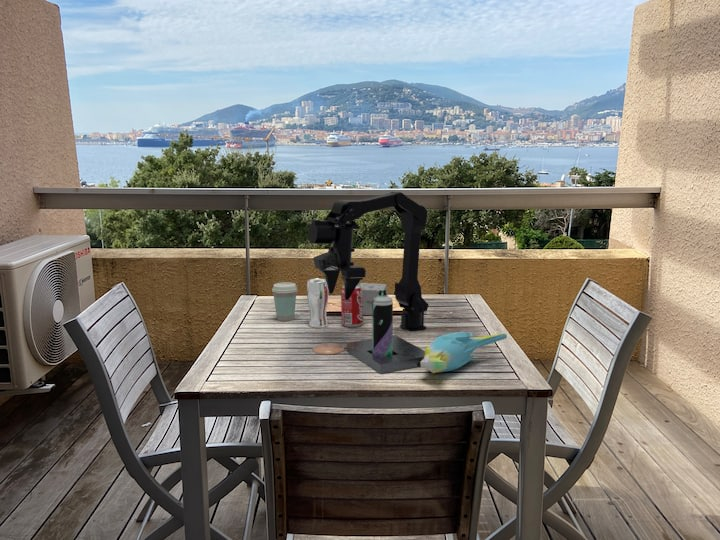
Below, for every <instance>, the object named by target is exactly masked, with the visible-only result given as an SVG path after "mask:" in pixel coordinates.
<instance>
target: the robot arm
mask: <svg viewBox="0 0 720 540" xmlns="http://www.w3.org/2000/svg"><path fill="white" fill-rule="evenodd" d="M392 207H393V209H394V210H395V212H396V213H398V215H400V224H401V226H402V229H403V231H404V240H403V241H404V243H403V257H402V273H401V275H402V276H401V278H400V280H399V282H395V283H394V293H393V295H394V296H395V301H397V303H398V305H399V308H401V309H402V313H401V316H400V317H401V318H400V319H401V320H400V321H401V323H400V324H399V327H400V328H403V329H405V330H407V331H409V332H412V331H418V330H425V329H427V326H426V325H424V324H425V320H424V319H425V312H427V311H428V309H429V303H428V302H427V301H426V300H425V299H424V298H423V295H422V287H421V284H420V282H419V279H418V276H419V274H418V273H419V259H420V247H421V235H422V232H423V230H424V229H425V227H426V226H427V225H426V223H427V219H428V215H429V214H428V209H426V207H425V206H424V205H420V204H419V203H417V202H416V201H414V200H413V199H411V198H409V197H408V196H407V195H406V194H405V193H403V192H400V191H390V192H389V193H385V194H380V195H376V196H372V197H367V198H363V199H340V200H336V201H334V202H333V205H332V207H331V210H330V211H329V213H328V214H327V215H326V216H325V218H324V219H323V220H321V219H320V220H318V219H312V220H311V224H309V227H308V230H307V239H308V242H309V243H310V244H311V245H312V244H313V245H318V244H319V245H327V244H328V245H330V246H329V247H328V250H327V252H323V253H321V254H318V255H317V256H314V257H313V258H312V260H313V264H314V268H315V269H318V270H319V272H321V273H322V274H323V275H324V277H325V278H324V279H326V282H327V286H328V294H334V291H335V288H336V284H337V282H338V278H339V275H340V273H341V276H340V278H341V279H342V281H343V284H344V285H343V286H344V291H345V300H349V298H350V296H351V295H352V293H353V291H354V289H355V288H356V286H357V285H359V284H360V283H361V282H360V281H362V280H363V278H366V276H367V275H366V274H367V269H365V267H363V266H360V265H354V262H353V261H352V254H353V253H355V248H354V247H353V239H354V237H353V235H354V230H360V229H361V226H360V225H359V224H358V223H357V222H356V220H358V219H360V218H362V217H363V216H364V215H366V214H368V213H371V212H375V211H380V210H383V209H387V208H392ZM331 244H332V245H331Z"/></svg>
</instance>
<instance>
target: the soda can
mask: <svg viewBox="0 0 720 540" xmlns="http://www.w3.org/2000/svg"><path fill="white" fill-rule="evenodd" d="M340 302H341V303H340V306H341V307H340V308H341V309H340V310H341V311H340V312H341V325H343V326H344V327H346V328H358V327H361V326H362V325H363V324H364V315H363V291H362V289H361V286H360V284H358V285H357V286H356V288H355V289H354V291H353V293H352V295H351V296H350V298H349V300H345V291H344V285H342V287H341V290H340Z"/></svg>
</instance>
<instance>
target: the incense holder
mask: <svg viewBox="0 0 720 540" xmlns="http://www.w3.org/2000/svg"><path fill="white" fill-rule="evenodd" d="M359 285H360V286H361V289H362V291H363V316H372V301H373V298H375V297H376V296H377V295H378V294H379V290H386V293H387V294H388V290H387V284H386V283H369V282H359Z"/></svg>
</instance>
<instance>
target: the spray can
mask: <svg viewBox="0 0 720 540" xmlns="http://www.w3.org/2000/svg"><path fill="white" fill-rule="evenodd" d="M393 305H394V302H393V298H392V297H390V296H389V295H388V292H387V293H386V290H379V294H378V295H377V296H376V297H375V298H373V301H372V315H371V317H372V323H371V324H372V325H371V327H372V330H371V331H372V332H371V333H372V335H371V336H372V338H371V339H372V355H374V356H375V357H377V358H381V357H386V356H392V351H393V330H394V329H393V325H394V324H393V316H394V309H393V307H394V306H393Z"/></svg>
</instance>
